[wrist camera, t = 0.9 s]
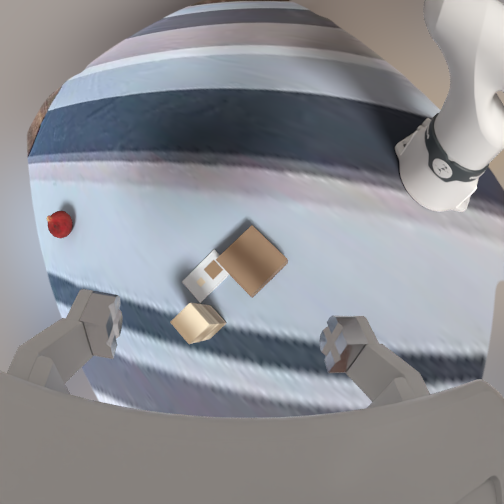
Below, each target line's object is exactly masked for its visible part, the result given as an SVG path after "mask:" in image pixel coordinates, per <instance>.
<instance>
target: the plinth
mask: <svg viewBox="0 0 504 504" xmlns="http://www.w3.org/2000/svg"><path fill="white" fill-rule="evenodd" d="M216 261H217V262H218V263H219V264H220V265H221V266H222V267H223V268H224V269H225V270H226V271H227V272H228V273H229V274H230V275H231V276H232V278H233V279H234V280H235V281H236V282H237V283H238V284H239V285H240V286H241V287H242V288H243V289H244V290H245V291H246V292H247V293H248V294H249V295H250V296H251V297H252V298H253V297H254V296H255V295H256V294H257V293H258V292H259V291H260V290H261V289H262V288H263V287H264V286H265V285H266V284H267V283H268V282H269V281H270V280H271V279H272V278H273V277H274V276H275V275H276V274H277V273H278V272H279V271H280V270H281V269H282V268H283V267H284V266H285V265H286V264H287V263H288V259H287V258H286V257H285V256H284V255H283V254H282V253H281V252H279V251H278V250H277V249H276V248H275V247H274V246H273V245H272V244H271V243H270V242H269V241H268V240H267V239H266V238H265V237H264V236H263V235H262V234H261V233H260V232H259V231H258V230H257V229H256V228H254V227H253V226H252V225H251V226H250V227H249V228H248V229H247V230H246V231H245V232H244V233H243V234H242V235H241V236H240V237H239V238H238V239H237V240H236V241H234V242H233V243H232V244H231V245H230V246H229V247H228V248H227V249H226V250H225V251H224V252H223V253H222V254H221V255H220V256H219V257H218V258H217V259H216Z"/></svg>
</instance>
